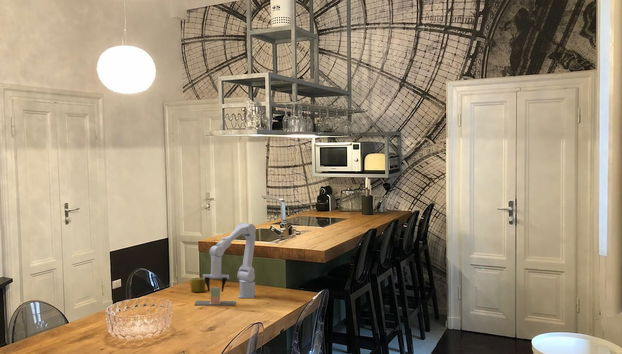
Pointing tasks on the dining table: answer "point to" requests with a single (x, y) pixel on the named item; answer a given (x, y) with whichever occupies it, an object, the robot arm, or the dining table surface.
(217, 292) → the green brick
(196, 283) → the mug
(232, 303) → the baseplate
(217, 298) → the terracotta brick
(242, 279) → the robot arm
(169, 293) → the dining table surface
